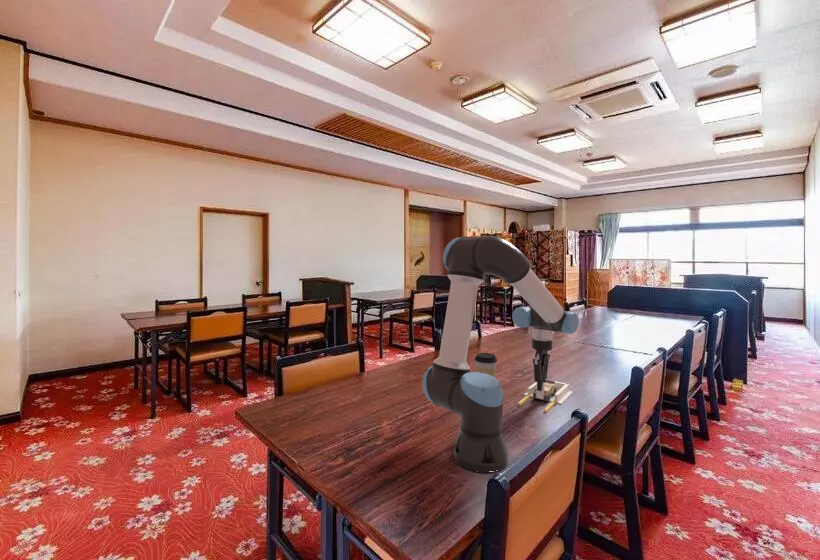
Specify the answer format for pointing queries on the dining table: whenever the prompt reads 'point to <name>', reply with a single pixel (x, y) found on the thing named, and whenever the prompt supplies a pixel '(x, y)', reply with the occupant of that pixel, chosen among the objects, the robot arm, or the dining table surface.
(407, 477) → the dining table surface
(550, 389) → the two-tone toy block
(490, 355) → the coffee cup
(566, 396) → the dock
